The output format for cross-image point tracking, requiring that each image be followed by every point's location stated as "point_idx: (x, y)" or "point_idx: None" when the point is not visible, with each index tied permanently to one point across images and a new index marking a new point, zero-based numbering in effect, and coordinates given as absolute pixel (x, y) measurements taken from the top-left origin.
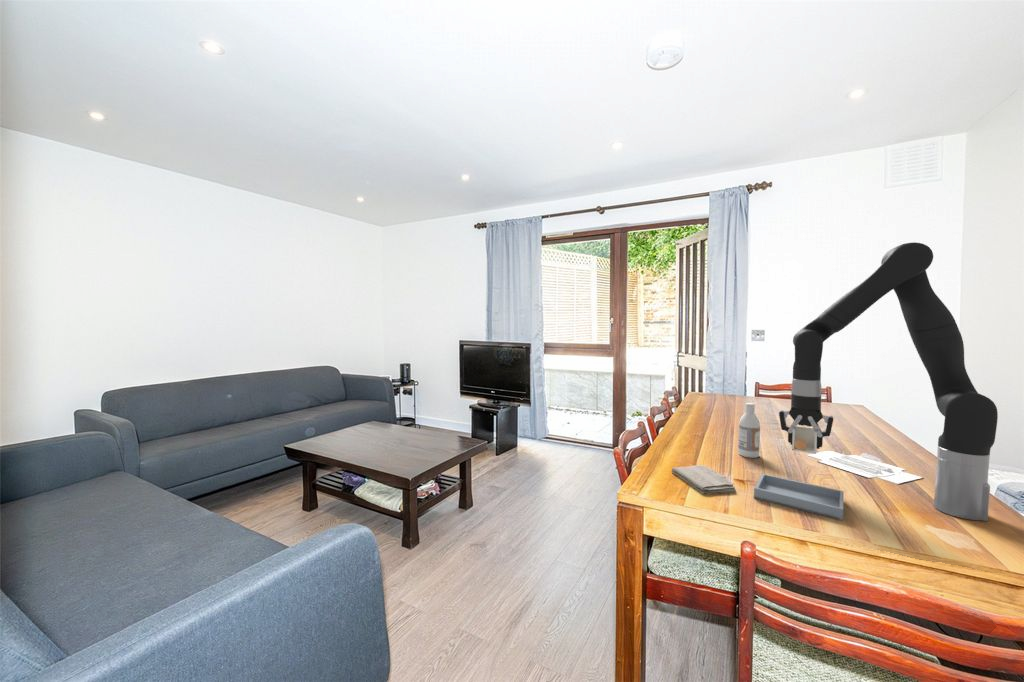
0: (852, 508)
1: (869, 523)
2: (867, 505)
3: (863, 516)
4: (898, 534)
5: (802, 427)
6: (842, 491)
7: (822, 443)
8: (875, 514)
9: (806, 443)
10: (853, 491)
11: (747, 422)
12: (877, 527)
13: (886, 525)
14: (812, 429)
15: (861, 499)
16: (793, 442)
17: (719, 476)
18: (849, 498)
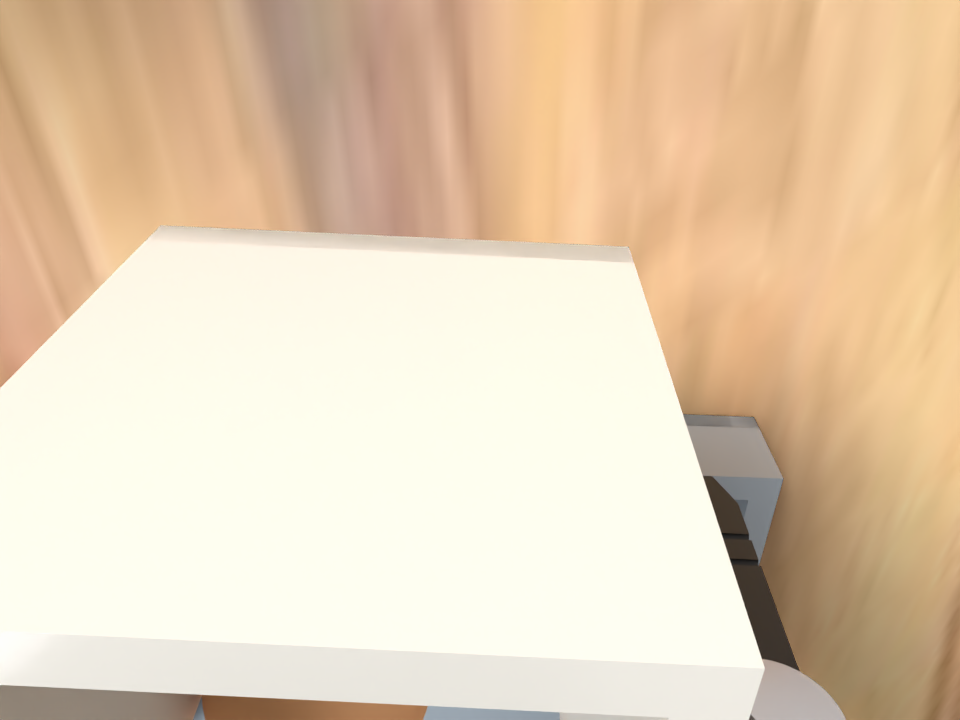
0: (791, 509)
1: (831, 668)
2: (937, 386)
3: (828, 596)
4: (948, 713)
5: (143, 672)
6: (771, 490)
7: (745, 535)
8: (929, 524)
9: (417, 713)
10: (938, 63)
11: None
12: (860, 692)
13: (930, 644)
14: (538, 673)
15: (938, 269)
16: (184, 699)
17: None
18: (829, 311)
